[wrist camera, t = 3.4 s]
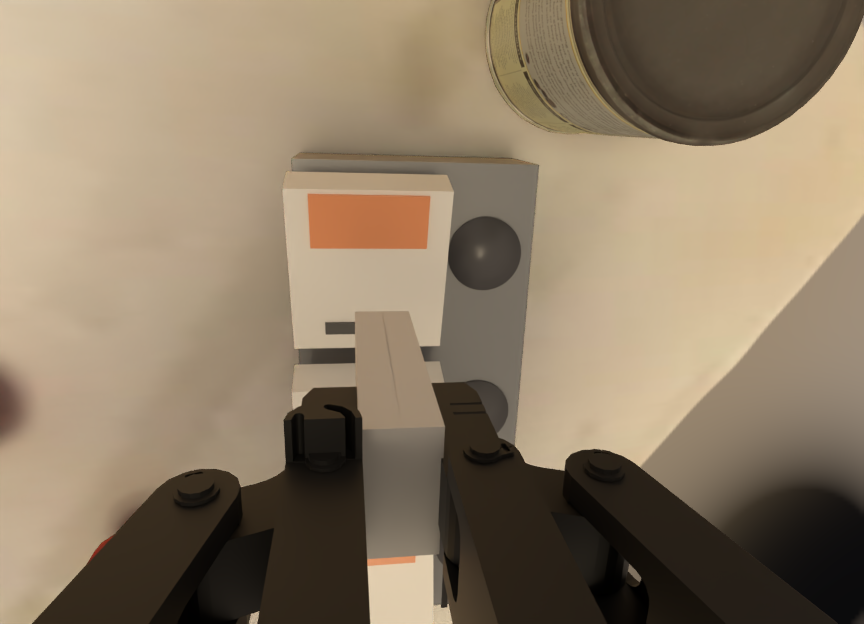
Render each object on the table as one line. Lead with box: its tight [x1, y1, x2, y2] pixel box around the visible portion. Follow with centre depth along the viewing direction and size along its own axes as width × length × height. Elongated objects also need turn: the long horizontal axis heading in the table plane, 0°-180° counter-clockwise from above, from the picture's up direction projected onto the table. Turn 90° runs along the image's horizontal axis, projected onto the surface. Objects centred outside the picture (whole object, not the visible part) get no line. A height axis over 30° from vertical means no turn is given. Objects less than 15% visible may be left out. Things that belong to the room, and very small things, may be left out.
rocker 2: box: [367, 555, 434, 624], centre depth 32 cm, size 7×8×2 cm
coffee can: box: [485, 0, 864, 146], centre depth 25 cm, size 10×10×14 cm
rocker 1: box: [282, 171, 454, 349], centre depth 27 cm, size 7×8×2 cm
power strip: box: [291, 153, 539, 605], centre depth 35 cm, size 12×31×6 cm, turn 178°
